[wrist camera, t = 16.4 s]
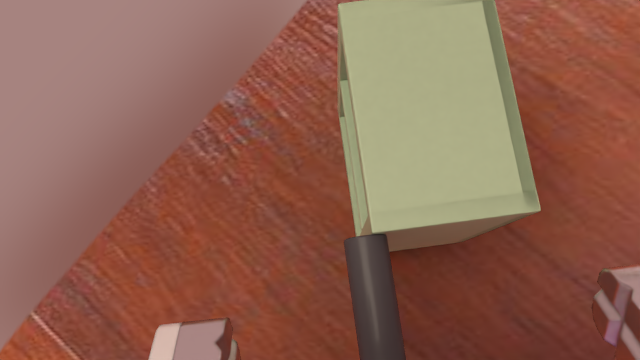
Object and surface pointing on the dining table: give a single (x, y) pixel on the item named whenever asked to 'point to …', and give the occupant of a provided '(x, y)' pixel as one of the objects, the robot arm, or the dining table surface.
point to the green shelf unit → (423, 142)
